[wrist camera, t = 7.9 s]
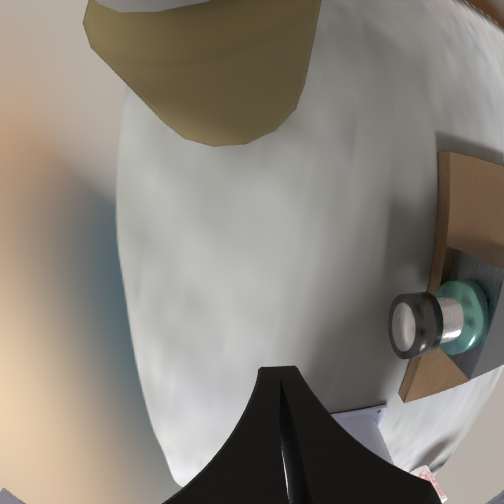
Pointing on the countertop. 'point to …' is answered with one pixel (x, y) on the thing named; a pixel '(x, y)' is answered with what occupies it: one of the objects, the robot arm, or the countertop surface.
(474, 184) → the sharpening stone
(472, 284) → the shaft
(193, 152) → the countertop surface
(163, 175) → the countertop surface
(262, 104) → the squeeze bottle
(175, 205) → the countertop surface
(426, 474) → the beverage cup
